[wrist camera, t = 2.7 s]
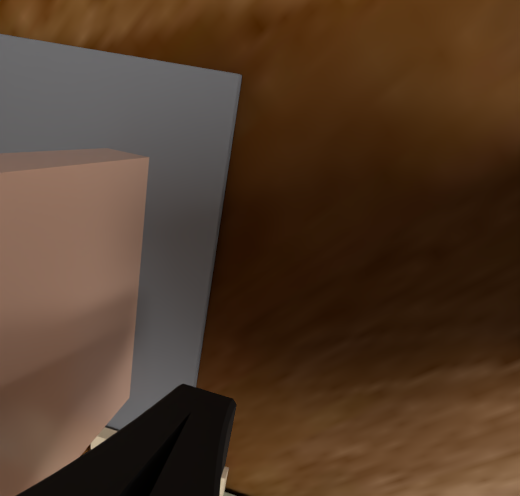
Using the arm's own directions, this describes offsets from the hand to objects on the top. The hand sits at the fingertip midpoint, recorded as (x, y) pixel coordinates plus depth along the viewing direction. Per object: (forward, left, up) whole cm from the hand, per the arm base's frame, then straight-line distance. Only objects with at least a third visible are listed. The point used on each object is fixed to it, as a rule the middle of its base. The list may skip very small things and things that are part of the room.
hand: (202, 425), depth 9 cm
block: (+5, 0, -5) cm, 7 cm away
